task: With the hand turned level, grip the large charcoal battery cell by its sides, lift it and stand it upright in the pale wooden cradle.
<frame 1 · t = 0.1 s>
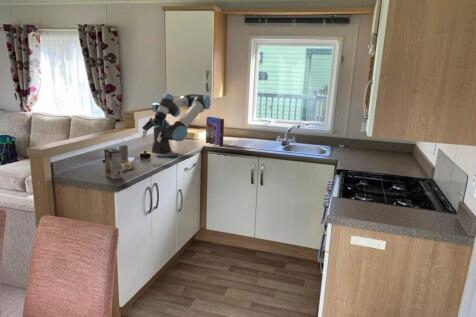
hand: (150, 139, 238), 15 cm above the worktop, tool tilted 35°, fingers open, 13 cm apart
cereal box: (214, 144, 310), on the worktop
coffee box: (113, 176, 204), on the worktop
battery cell: (123, 163, 234), on the worktop
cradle: (120, 168, 221), on the worktop
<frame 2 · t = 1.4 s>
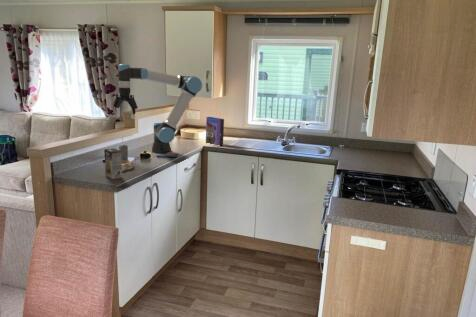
hand: (125, 117, 243), 29 cm above the worktop, tool pointing down, fingers open, 13 cm apart
nothing on the worktop moved.
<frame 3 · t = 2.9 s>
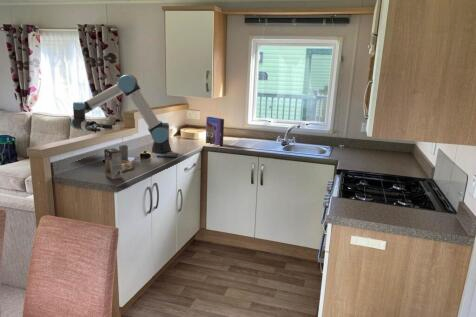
hand: (112, 129, 233), 22 cm above the worktop, tool horizontal, fingers open, 13 cm apart
nothing on the worktop moved.
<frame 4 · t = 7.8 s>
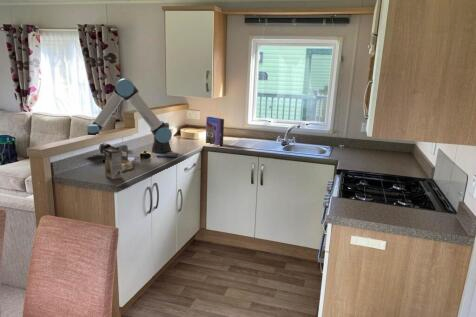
hand: (129, 153, 230), 8 cm above the worktop, tool horizontal, fingers closed on battery cell, 5 cm apart
battery cell: (123, 163, 234), on the worktop, touching gripper
everything else where it was.
when the fingers open (10 cm above the worktop, at t = 12.9 s): battery cell drops 1 cm, resting on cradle.
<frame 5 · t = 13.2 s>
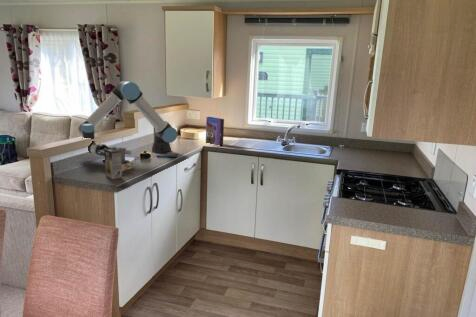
hand: (125, 154, 217), 10 cm above the worktop, tool horizontal, fingers open, 9 cm apart
battery cell: (120, 166, 221), point 1 cm above the worktop, touching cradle
everything else where it was.
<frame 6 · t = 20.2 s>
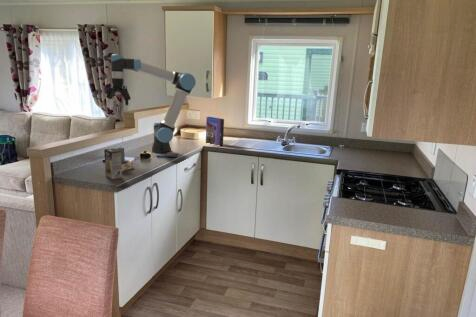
hand: (118, 109, 241), 35 cm above the worktop, tool pointing down, fingers open, 13 cm apart
nothing on the worktop moved.
at the end: battery cell 0.1 cm off-centre on the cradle, point 1.1 cm above the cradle's base; battery cell tilted 1°; the gripper is holding nothing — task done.
